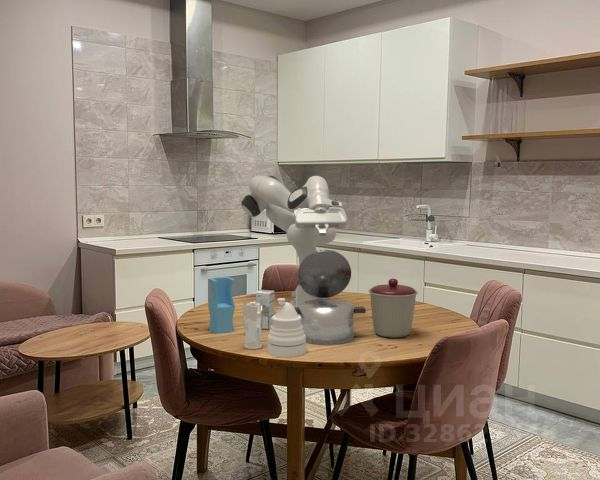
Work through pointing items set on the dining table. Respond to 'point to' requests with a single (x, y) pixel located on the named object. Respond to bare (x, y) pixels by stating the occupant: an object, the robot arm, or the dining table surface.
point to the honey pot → (286, 332)
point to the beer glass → (253, 324)
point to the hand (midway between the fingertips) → (322, 234)
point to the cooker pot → (328, 321)
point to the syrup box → (266, 306)
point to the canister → (392, 309)
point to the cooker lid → (324, 273)
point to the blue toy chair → (221, 305)
